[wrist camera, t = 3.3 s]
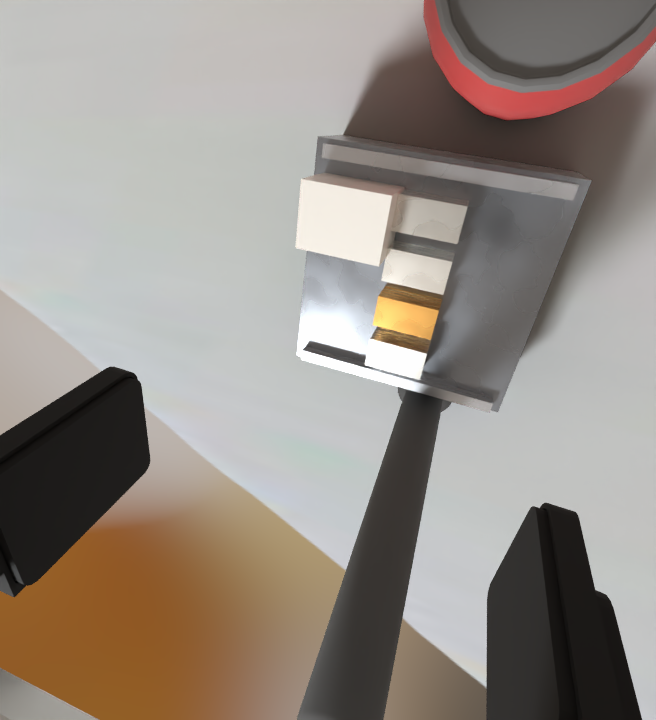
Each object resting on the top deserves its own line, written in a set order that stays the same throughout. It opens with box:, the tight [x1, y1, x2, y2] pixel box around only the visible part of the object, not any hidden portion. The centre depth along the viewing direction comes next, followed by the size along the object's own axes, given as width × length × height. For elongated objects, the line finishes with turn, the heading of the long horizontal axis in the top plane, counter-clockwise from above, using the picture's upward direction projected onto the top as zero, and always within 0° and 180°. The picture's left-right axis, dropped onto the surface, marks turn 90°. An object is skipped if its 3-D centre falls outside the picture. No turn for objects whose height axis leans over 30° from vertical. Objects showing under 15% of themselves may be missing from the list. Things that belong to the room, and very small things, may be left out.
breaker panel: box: [297, 135, 592, 413], centre depth 23 cm, size 12×12×6 cm
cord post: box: [297, 387, 451, 720], centre depth 21 cm, size 4×4×20 cm
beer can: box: [424, 0, 656, 120], centre depth 14 cm, size 7×7×12 cm
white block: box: [295, 173, 405, 267], centre depth 20 cm, size 4×3×3 cm
